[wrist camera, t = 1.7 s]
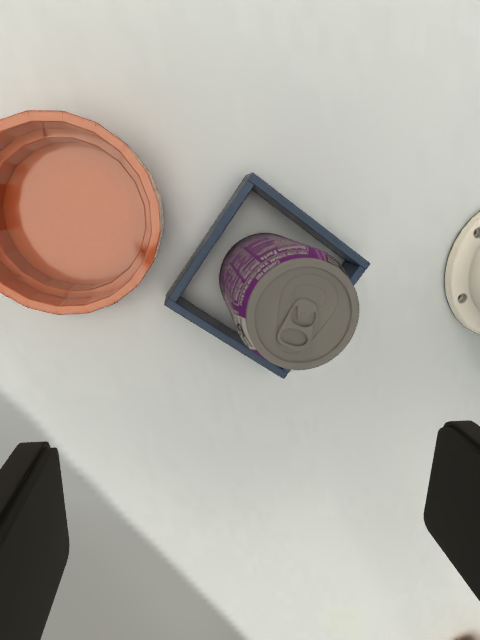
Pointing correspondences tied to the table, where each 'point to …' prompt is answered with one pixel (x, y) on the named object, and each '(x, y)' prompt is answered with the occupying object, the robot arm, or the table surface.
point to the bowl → (73, 214)
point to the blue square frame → (352, 263)
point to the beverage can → (288, 300)
